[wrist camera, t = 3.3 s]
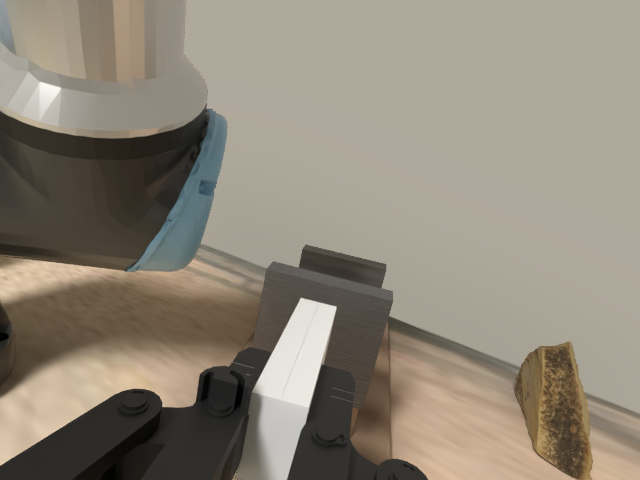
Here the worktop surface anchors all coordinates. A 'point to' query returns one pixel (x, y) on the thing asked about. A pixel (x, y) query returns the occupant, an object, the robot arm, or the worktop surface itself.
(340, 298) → the push plunger
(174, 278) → the worktop surface
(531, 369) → the rock
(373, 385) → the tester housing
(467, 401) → the worktop surface
